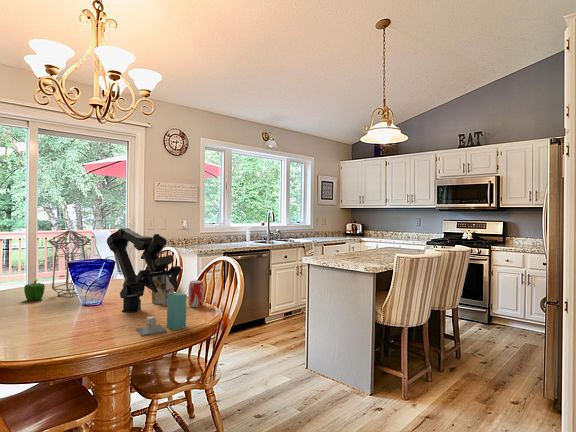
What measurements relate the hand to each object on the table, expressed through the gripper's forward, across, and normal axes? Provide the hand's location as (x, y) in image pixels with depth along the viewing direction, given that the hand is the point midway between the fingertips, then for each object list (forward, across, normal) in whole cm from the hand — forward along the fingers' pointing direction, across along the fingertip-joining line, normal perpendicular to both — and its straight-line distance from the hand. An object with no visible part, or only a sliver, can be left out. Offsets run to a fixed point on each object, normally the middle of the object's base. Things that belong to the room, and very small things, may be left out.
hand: (167, 290), depth 145 cm
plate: (+12, -9, +6) cm, 17 cm away
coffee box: (-11, +17, +31) cm, 37 cm away
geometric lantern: (-45, -7, +66) cm, 80 cm away
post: (+12, -9, +6) cm, 17 cm away
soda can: (+1, +24, +18) cm, 31 cm away
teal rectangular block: (+15, 0, +4) cm, 15 cm away
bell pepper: (-47, -22, +68) cm, 86 cm away
